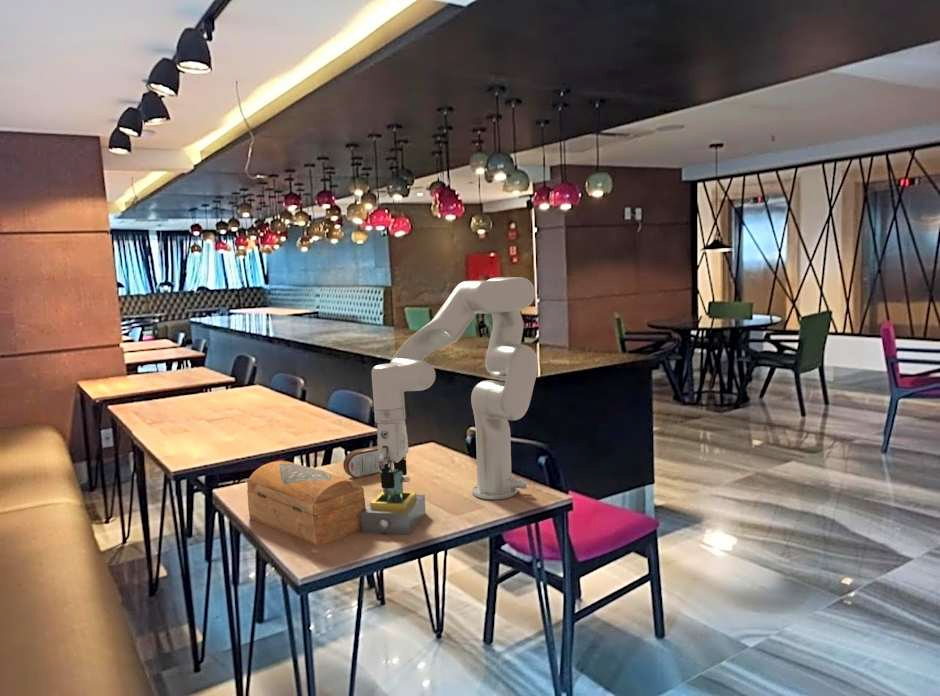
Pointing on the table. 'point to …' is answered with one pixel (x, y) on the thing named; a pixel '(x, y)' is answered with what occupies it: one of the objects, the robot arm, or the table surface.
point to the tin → (362, 462)
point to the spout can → (395, 488)
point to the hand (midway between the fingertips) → (394, 481)
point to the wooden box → (305, 502)
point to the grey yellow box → (393, 514)
